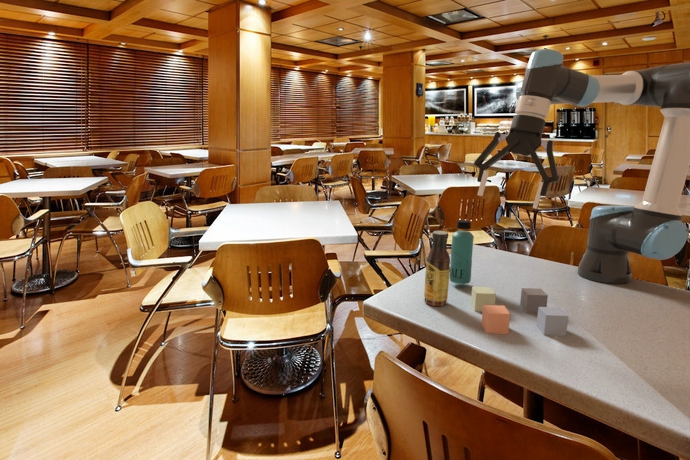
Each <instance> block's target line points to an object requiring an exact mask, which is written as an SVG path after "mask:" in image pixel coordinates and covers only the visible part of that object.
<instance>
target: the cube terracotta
mask: <svg viewBox="0 0 690 460" xmlns="http://www.w3.org/2000/svg"><path fill="white" fill-rule="evenodd" d="M481 313H482V316H481V325H482V327H483V329H484V331H485V333H486V334H498V335H499V334H504V335H505V334H506V335H509V331H510V319H511V313H510V311H509V310H508V308H507V307H506V306H505V305H497V304H495V305H483V311H482V312H481Z"/></svg>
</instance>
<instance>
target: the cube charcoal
mask: <svg viewBox="0 0 690 460" xmlns="http://www.w3.org/2000/svg"><path fill="white" fill-rule="evenodd" d="M548 297H549V296H548V294H547V293H546V292H545V291H544V290H543V289H542V288H534V287H533V288H529V287H526V288H525V287H522V288H521V292H520V300H519V307H521V308H522V310H523V311H524V312H525V313H526V314H528V313H529V314H538V307H548V306H547V305H548Z"/></svg>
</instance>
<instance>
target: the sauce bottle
mask: <svg viewBox="0 0 690 460" xmlns="http://www.w3.org/2000/svg"><path fill="white" fill-rule="evenodd" d="M431 234H432V235H431V238H432V244H431V249H430V251H429V253H428V254H427V255H428V256H427V258H426V262H425V275H424V276H425V277H424V292H423V296H424V303H425V304H427V305H429V306H432V307H443V306H445V305H446V304H447V300H448V295H449V284H450V282H449V281H450V277H449V273H450V264H451V263H450V260H451V257H450V256H451V255H450V254H449V252H448V250H447V249H448V246H447V245H448V239H449V233H448V231H445V230H444V231H443V230H434V231H433V232H432V233H431Z"/></svg>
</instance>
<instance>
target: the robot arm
mask: <svg viewBox="0 0 690 460" xmlns="http://www.w3.org/2000/svg"><path fill="white" fill-rule="evenodd" d="M563 63H564V54H563V53H561V52H560V51H559V50H555V49H548V48H542V49H536V50H534V51H533V52H532V53H531V54H530V56H529V60H528V62H527V65H526V67H525V73H524V75H523V79H522V80H521V81H520V82H519V83H518V85H517V86H516V90H515V97H516V100H517V102H516V105H515V106H516V107H515V111H514V113H515V115H513V118H512V121H511V125H510V127H509V132H508V134H504V133H501V132H500V131H496V132H495V133H494V136H493V139H492V140H491V141H490V142H489V144H488V145H487V146H486V148H485V149H484V150H483V151H482V152H481V153H480V154H479V156H478V157H477V158H476V159H475V160H474V162H473V164H474V166H475V167H477V168H479V171H478V175H477V179H476V180H477V182H479V183H480V184H479V186H478V191H477V194H476V196H479V197H483V196H484V193H485V192H484V191H485V189H486V185H487V181H488V177H489V174H490V171H488V169H490V167H492V166H494V165H495V164H496V163H497V162H498V161H500V160H501V159H503V158H504V157H506V156H507V155H509V154H510V153H512V154H513V155H517V156H518V155H522V156H523V157H528V156H530V157H531V159H532V161H533V162H534V165H535V168H537V171H538V172H539V174H540V176H541V178H542V180H543V181H539V184H538V186H537V187H538V188H537V190H536V193H535V198H534V201H533V205H532V209H534V210H537V209H538V207H539V203H540V200H541V197H545V196H547V193H548V189H549V185H550V184H552V183H558V182H559V181H560V179H559V174H558V168H557V166H556V160H555V156H554V146H555V143H554V141H553V140H552V139H551V140H548V141H547V140H542V135H543V132H544V128H545V126H546V118H548V115H549V112H550V108H551V105H568V104H569V105H572V106H574V107H581V108H585V107H588V106H589V105H591V104H592V103H593V104H594V103H595V104H596V103H598V104H599V103H619V104H620V105H623V106H643V107H652V108H660V109H659V112H660V113H661V114H662V116H663V118H664V119H663V123H662V126H661V131H660V133H659V136H658V140H657V145H656V149H655V152H654V157H653V159H652V163H651V167H650V169H649V174H648V178H647V181H646V186H645V189H644V193H643V195H642V201H641V202H640V203H639V202H638V204H636V205H635V206H632V205H597V206H595V207H593V208H592V210H591V214H590V217H589V226H588V232H587V242H586V244H587V245H586V250H585V253H584V254H583V256H582V258H581V260H580V262H579V264H578V266H577V275H579V276H580V277H581V278H584V279H587V280H590V281H594V282H599V283H604V284H612V285H613V284H615V285H616V284H617V285H618V284H619V285H621V284H628V283H630V282H632V275H633V274H632V273H633V272H632V269H631V264H630V260H629V253H633V254H636V255H639V256H643V257H644V258H647V259H654V260H659V261H663V260H668V259H671V258H673V257H674V256H675V255H677V254H678V253H679V252H680V251H682V249H683V248H684V246H685V244H686V242H687V239H688V235H689V232H688V227H687V225H686V224H685V223H683V221H681V220H682V217H683V213H682V212H681V211H680V210H679V204H680V201H681V197H682V194H683V191H684V187H685V183H686V179H687V176H688V173H689V169H690V61H687V62H680V63H671V64H664V65H663V64H662V65H659V66H658V65H657V66H653V67H649V68H645V69H639V70H638V69H637V70H628V71H625V72H624V73H621V74H603V75H602V74H601V75H600V74H599V75H597V74H594V75H590V73H589V74H588V73H587V72H586V73H584V72H582V71H578V70H576V69H572V68H570V67H567V66H565V65H563ZM504 140H505V141H506V145H505V146H504V147H502V149H501V150H500V151H498V152H497V153H496V154H494V155H493V156H491V157H490V158H489V159H487V158H488V157H489V156H490V155H491V154H492V152H493V151H494V150H495V149H496V147H497V146H498V145H499V144H500V143H502V142H503V141H504ZM540 147H542V148H543V150H544V151H546V156H547V160H548V165H549V170H550V175H551V176H549V175H548V173H547V171H546V169H545V168H544V166H543V164H542V161H541V159H540V158H539V156H538V154H537V152H536V151H537V150H538V149H539V148H540ZM486 159H487V160H486ZM484 161H485V162H484Z"/></svg>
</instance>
